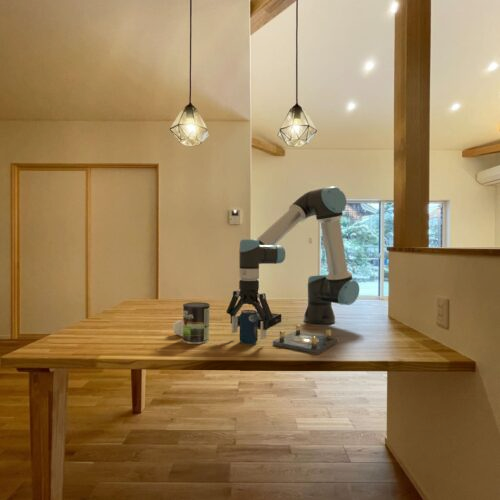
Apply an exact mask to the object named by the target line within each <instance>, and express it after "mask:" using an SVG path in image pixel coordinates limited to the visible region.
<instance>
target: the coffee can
mask: <svg viewBox="0 0 500 500" xmlns="http://www.w3.org/2000/svg"><path fill="white" fill-rule="evenodd" d="M182 307H183V311H182V312H183V314H182V315H183V319H182V320H183V336H182V342H183V344H184V343H185V344H189V345H201V344H205V343H208V342H210V307H211V304H210V303H207V302H201V301H200V302H195V301H193V302H186V303H184V304H182Z"/></svg>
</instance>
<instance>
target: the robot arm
mask: <svg viewBox="0 0 500 500" xmlns="http://www.w3.org/2000/svg"><path fill="white" fill-rule="evenodd" d="M346 206H347V198H346V194H345V193H344V192H343V190H341V188H339V187H337V186H327V187H323V188H319V189H314V190H310V191H307V192H306V193H304V194H302V195H300V196H299V198H298V199H296V200H295V201H294V202H293V203H292V204H290V205H289V207H288V210H287V211H285V213H284V214H283V215H282V216H280V217H279V218H278V219H277V220H276V221H275V222H274V223H273V224H272V225H271V226H269V227H268V228H267V229H266V230H265V231H264V232H263V233H261V235H260V236H258V237H257V238H256V239H254V238H252V239H251V238H249V239H247V238H244V239H243V238H242V239H241V240H240V242H239V257H238V258H239V265H238V267H239V273H238V274H239V275H238V276H239V277H238V278H239V279H240V280H239V281H238V285H239V286H238V287H239V288H238V289H239V290H233V291H232V297H231V299H230V302H229V305H228V308H227V310H226V314H229V316H230V324H231V333H232V334H234V333H238V330H239V328H238V316H239V315H238V312H239V311H240V310H241V308H242V307H243V306H244V305H249V306H250V305H251V306H252V307H254V308H255V311H256V312H258V314H259V315H260V317H261V318H262V321H261V327H260V340H263V339H266V338H267V330H268V329H269V328H268V320H271V319H273V316H272V314H271V313H272V312H271V309H270V306H269V303H268V302H267V301H268V300H267V297H266V293H259V290H260V281H259V280H258V279H260V265H264V264H266V265H270V264H271V265H273V264H274V265H277V264H282V263H283V262H284V261H285V259H286V249H285V248H284V247H283V246H282V245H278V244H277V243H279V242H280V241H281V240H282V239H283V238H284V237H285V236H286V235H287V234H288V233H290V232H291V231H292V229H293V228H295V227H297V225H298V224H299V223H303V222H305V220H306V219H308V218H310V217H313V216H315V217H316V220H317V222H319V223H320V228H321V233H322V240H323V245H324V252H325V253H324V254H325V258H326V259H325V260H326V265H327V272H328V273H327V274H321V275H320V274H317V275H310V276H309V277H308V280H307V306H306V310H305V313H304V317H303V318H304V319H303V321H304V322H307V323H311V324H316V325H318V324H319V325H329V324H333V323H335V322H336V316H335V313H334V310H333V306H332V304H333V303H334V304H338V305H341V306H342V305H345V306H346V305H347V306H350V305H353V303H355V302H356V301H357V300H358V298H359V293H360V285H359V282H358V281H357V280H355V279H353V276H352V272H350V271H348V265H347V258H346V252H345V245H344V238H343V232H342V231H343V230H342V225H341V219H342V217H343V212H344V210H345V209H346Z"/></svg>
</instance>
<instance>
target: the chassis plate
mask: <svg viewBox="0 0 500 500" xmlns="http://www.w3.org/2000/svg"><path fill="white" fill-rule="evenodd" d="M301 326H302V325H301V324H295V331H293V332H291V333H288V334H286V335H285V330H279V338H277V339H274V340H272V346H274V347H275V346H276V347H280V348H285V349H289V350H294V351H298V352H303V353H307V354H312V355H313V354H314V355H319V354H321V353H323V352H324V351H326V350H327V349H329V348H330V347H333V346H335V345H336V344H337V343H338V338H336V337H332V329H330V328H328V329H327V328H326V329H325V335H320V334H319V335H318V334H314V333H313V334H312V333H308V332H302V331H301Z"/></svg>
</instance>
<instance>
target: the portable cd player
mask: <svg viewBox="0 0 500 500" xmlns="http://www.w3.org/2000/svg"><path fill="white" fill-rule="evenodd" d="M256 313H257V315H258V328H261V321H262V318H261V317H260V315H259V314H258V312H257V311H256ZM271 314H272V316H273V319H271V320H268V329H269V328H271V327H273V326H275V325H277V324H279V323H281V322H282V314H281V313H273V312H271ZM238 325H239V326H240V315H238Z"/></svg>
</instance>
